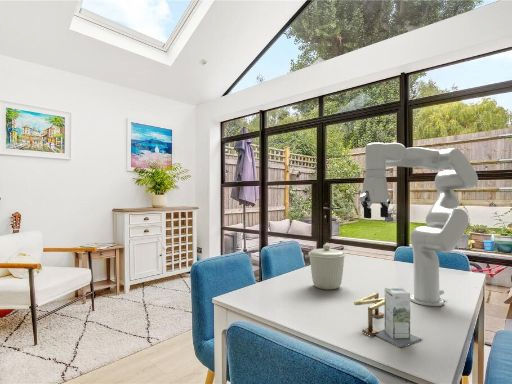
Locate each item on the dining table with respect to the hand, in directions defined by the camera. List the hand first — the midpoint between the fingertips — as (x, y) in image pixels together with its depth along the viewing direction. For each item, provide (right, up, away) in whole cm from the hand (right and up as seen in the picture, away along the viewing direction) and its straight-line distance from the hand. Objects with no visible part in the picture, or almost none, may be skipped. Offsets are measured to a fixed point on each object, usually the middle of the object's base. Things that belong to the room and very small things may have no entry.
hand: (376, 217), depth 121 cm
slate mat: (-3, -36, -24) cm, 43 cm away
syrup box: (-2, -36, -23) cm, 43 cm away
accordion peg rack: (-6, -36, -14) cm, 39 cm away
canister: (-12, -37, +30) cm, 49 cm away
